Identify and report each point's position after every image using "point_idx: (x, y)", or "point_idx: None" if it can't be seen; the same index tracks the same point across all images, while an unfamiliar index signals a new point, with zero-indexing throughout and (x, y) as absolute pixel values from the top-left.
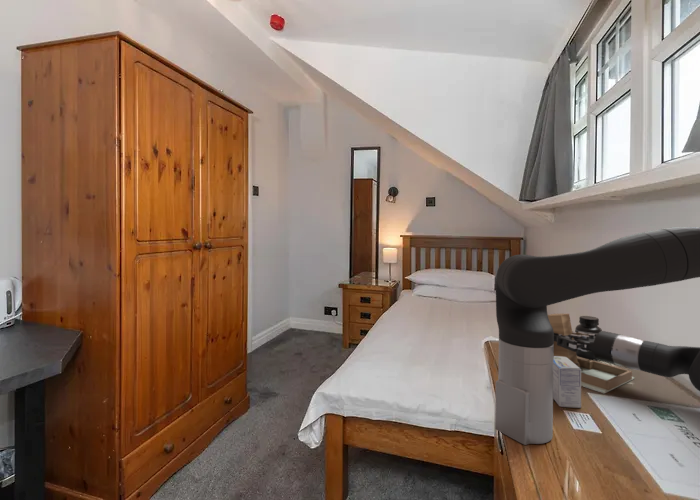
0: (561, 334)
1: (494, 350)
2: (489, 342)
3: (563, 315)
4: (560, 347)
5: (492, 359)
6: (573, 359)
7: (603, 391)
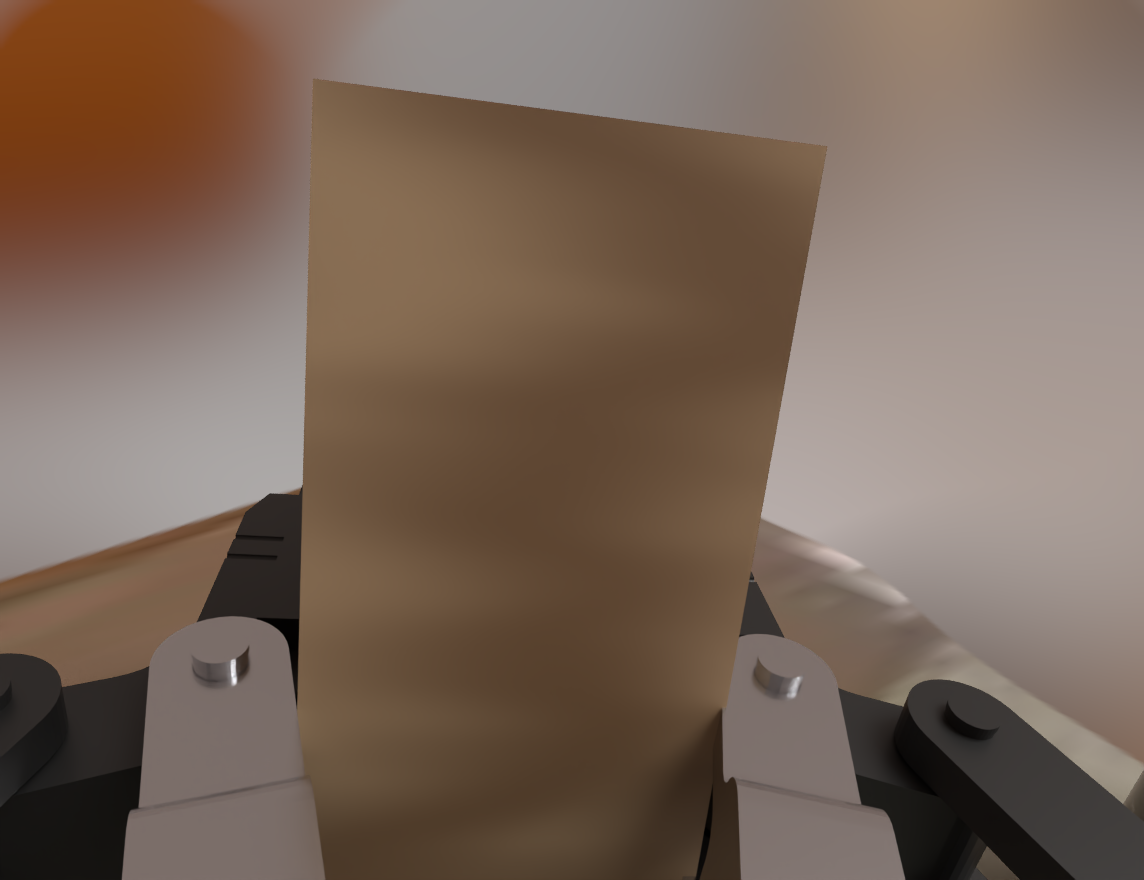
0: (204, 662)
1: None
2: None
3: (461, 121)
4: None
5: (101, 556)
6: None
7: None
